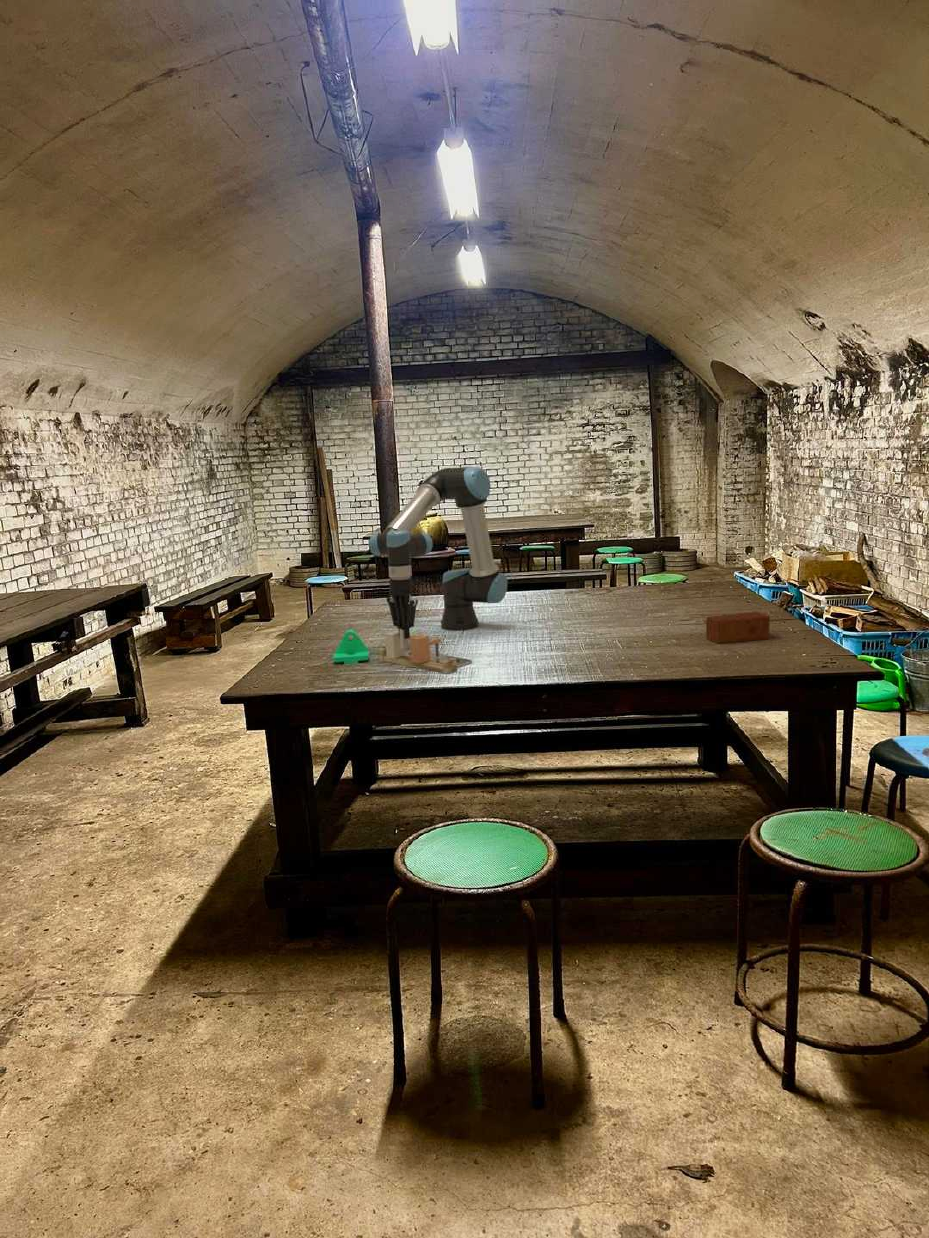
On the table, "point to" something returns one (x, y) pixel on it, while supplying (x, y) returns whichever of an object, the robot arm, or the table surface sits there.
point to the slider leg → (422, 648)
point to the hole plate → (441, 658)
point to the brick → (737, 627)
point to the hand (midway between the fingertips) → (405, 647)
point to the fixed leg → (394, 645)
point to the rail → (444, 668)
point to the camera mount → (351, 649)
